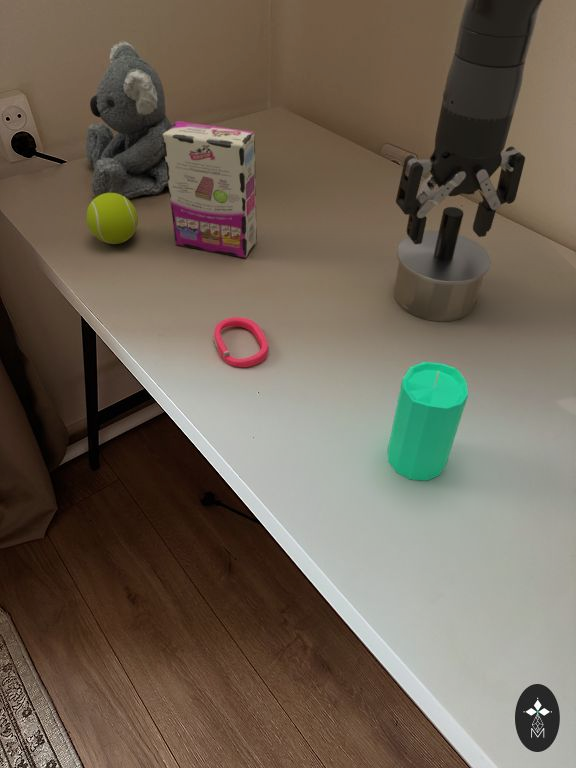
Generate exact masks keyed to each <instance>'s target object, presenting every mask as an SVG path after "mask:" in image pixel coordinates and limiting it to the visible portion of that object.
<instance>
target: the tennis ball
mask: <svg viewBox="0 0 576 768" xmlns="http://www.w3.org/2000/svg"><path fill="white" fill-rule="evenodd" d="M138 218H139V217H138V213H137V210H136V207H135V206H134V204H133V203H132V201H130V199H127V198H126V197H124V196H122V195H120V194H117V193H104V194H101V195H99V196H97V197H96V198H95V197H94V198H93V199H92V200H91V202H89V204H88V207H87V209H86V224H87V226H88V229H89V230H90V232H91V233H92V235H93V236H94V237H95V238H96V239H97V240H99V241H100V242H102V243H106V244H111V245H117V244H122V243H125V242H126V241H128V240H129V239H131V237H132V236H133V235H134V234H135V233H136V231H137V227H138V223H139V222H138V221H139V219H138Z"/></svg>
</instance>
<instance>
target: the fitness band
mask: <svg viewBox="0 0 576 768" xmlns="http://www.w3.org/2000/svg"><path fill="white" fill-rule="evenodd" d="M230 327H239V328H243V329H246V330H248V331H250V332H251V333H252V334H253V335H254V336H253V337H255V339H256V341H257V343H258V344H259V346H260V350H259V351H258V352H257V353H255V354H253V355H251V356H249V357H244V358H237V357H236V358H235V357H234V356H232V355H230V351H229V349H228V347H227V345H226V344H225V342H224V340H223V338H222V335H221V333H222V331H223V330H224V329H226V328H230ZM212 338H213V339H212V340H213V344H214V345H215V347H216V349H217V352H218V353H219V355H220V357H221V358H222V360H223V361H225V362H226V363H227V364H229V365H231V366H234V367H237V368H247V367H253V366H256V365H259V364H261V363H262V362H263V361H264V360H265V359H266V358H267V356H268V355H269V342H268V338H267V337H266V335H265V333H264V332H263V330H262V328H261V327H260V326H259V324H257V323H256V322H255V321H254V320H252V319H250V318H246V317H242V316H241V317H239V316H233V317H227V318H225V319H223V320H221V321H220V322H218V323H217V324H216V325H215V328H214V331H213V337H212Z"/></svg>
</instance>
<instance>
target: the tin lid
mask: <svg viewBox="0 0 576 768" xmlns="http://www.w3.org/2000/svg"><path fill="white" fill-rule="evenodd" d="M463 218H464V211H463V210H462V209H461V208H458V207H455V206H448V207H445V208H444V209H443V210H442V215H441V219H440V224H439V228H438V230H424V234H423V239H422V243H421V244H414V243H413V241H412V240H411V239H410V237H409V236H408V235H407V236H406V237H405V238H403V239H402V240H401V241H400V243H399V244H398V246H397V250H396V258H397V260H398V263H399V262H400V264H401V265H402V266H403V268H404V269H406V270H407V271H408V272H409V273H411V274H412V275H414V276H416V277H418V278H420V279H423V280H426V281H429V282H432V283H437V284H444V285H461V284H467V283H471V282H474V281H477V280H479V279H480V278H482V277H483V278H484V277H485V276H486V274H487V273H488V272H489V270H490V266H491V257H490V254H489V253H488V251H487V250H486V249H485V248H484V247H483V245H481V244H480V243H479V242H477V241H475V240H473V239H472V238H470V237H468V236H465V235H463V234H460V231H461V226H462V222H463Z"/></svg>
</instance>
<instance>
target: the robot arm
mask: <svg viewBox="0 0 576 768" xmlns="http://www.w3.org/2000/svg"><path fill="white" fill-rule="evenodd" d="M543 1H544V0H466V1H465V3H464V6H463V9H462V13H461V18H460V23H459V27H458V33H457V38H456V44H455V46H454V53H453V56H452V60H451V63H450V66H449V69H448V73H447V76H446V81H445V85H444V89H443V92H442V101H441V106H440V111H439V116H438V122H437V127H436V130H435V131H436V132H435V137H434V150H433V151H432V154H431V155H430V156H429V158H421V159H419V158H417V159H416V157H415V156H414V155H411V154H410V155H408V156H406V157H405V159H404V162H403V166H402V171H401V175H400V180H399V184H398V189H397V193H396V196H395V197H396V198H395V204H396V205H397V206H398V207H399V208H400V210H401V211H402V213H403V214H404V215H406V216H408V220H407V226H406V229H405V230H406V235H407V237H408V236H409V237H410V239H411V240H412V241H413V243H414V244H421V243H422V239H423V234H424V231H425V229H426V223H427V220H428V219H427V215H428V214H429V213H430V211H432V209H433V208H434V207H435V206H438V205H440V204H441V203H442V202H443V201H445V199H446V198H447V197H448V196H449V197H456V196H459V195H461V194H463V195H467V196H469V195H475V192H478V194H479V196H480V198H481V199H482V201H479V202H478V205H477V209H476V213H475V216H474V221H473V224H472V231H473V232H474V233H475V234H476V235H477V236H478V238H482V237H486V236H487V233H488V232H489V231H490V230H491V229H492V226H493V222H494V219H495V216H496V212H497V210H499V208H500V207H501V205H504V204H509V205H510V204H512V203H515V201H516V198H517V194H518V191H519V186H520V182H521V178H522V174H523V170H524V165H525V161H526V156H524V155H523V154H522V152H520V151H519V150H518V149H516V148H515V147H514V146H508V147H507V148H506V149H505V146H506V144H507V140H508V137H509V132H510V129H511V125H512V121H513V118H514V114H515V110H516V106H517V103H518V99H519V96H520V92H521V89H522V85H523V79H524V78H523V77H524V71H525V65H526V60H527V57H528V53H529V49H530V45H531V42H532V39H533V34H534V31H535V27H536V24H537V23H536V22H537V18H538V13H539V10H540V7H541V5H542V3H543ZM504 149H505V151H504ZM499 168H501V169H500V173H499V178H498V182H497V186H496V189H495V186H494V184H493V182H492V180H491V179H490V178H491V177H492V176H493V175H494V173H496V171H498V169H499ZM428 172H429V173H430V174H429V175H428V177H427V178H426V177H425V176H426V175H427V173H428ZM425 178H426V179H425ZM421 181H422V183H421ZM420 184H421V185H420ZM436 186H437V187H438V189H437V190H436V191H435V190H434V189H435V187H436ZM419 188H420V189H419Z"/></svg>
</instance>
